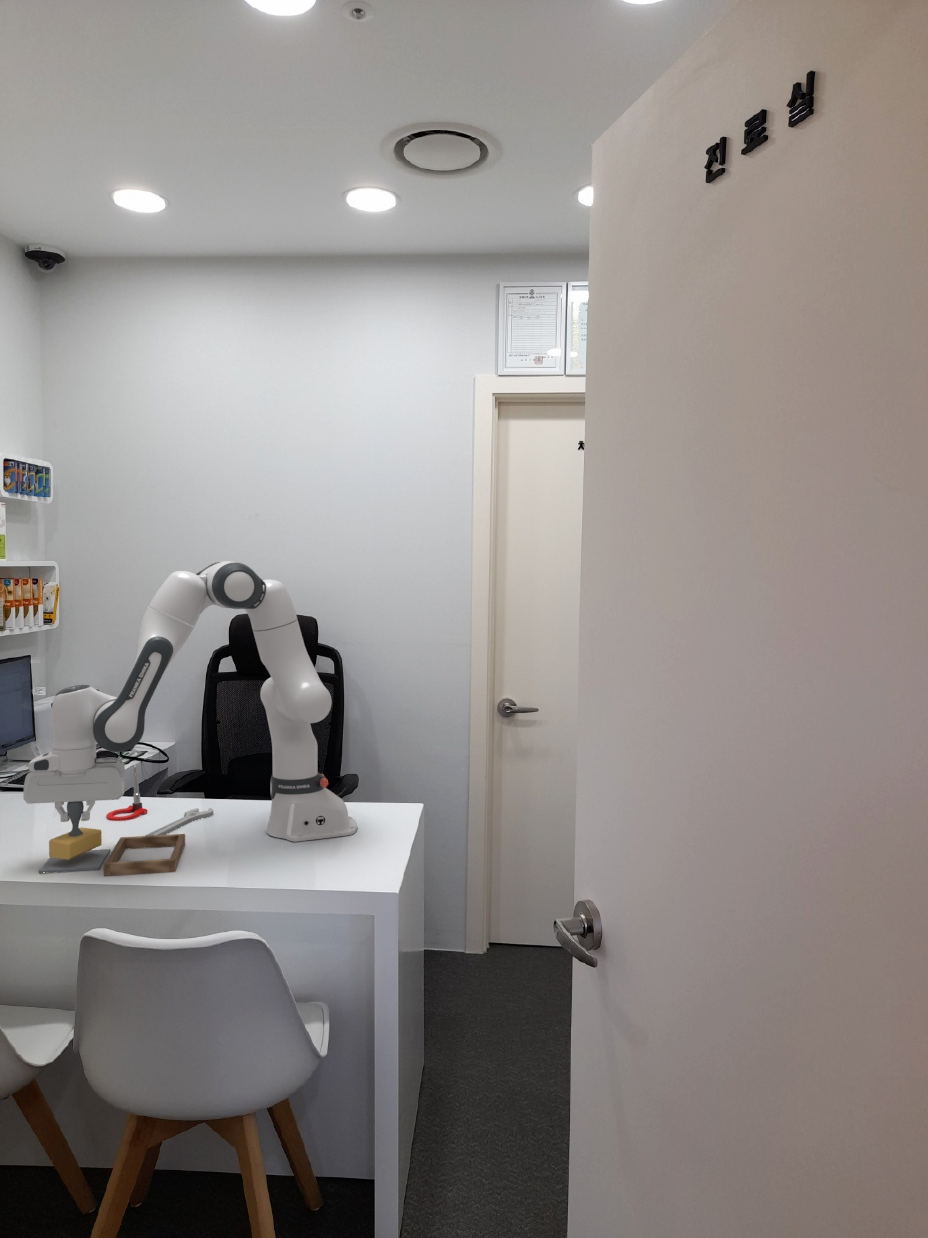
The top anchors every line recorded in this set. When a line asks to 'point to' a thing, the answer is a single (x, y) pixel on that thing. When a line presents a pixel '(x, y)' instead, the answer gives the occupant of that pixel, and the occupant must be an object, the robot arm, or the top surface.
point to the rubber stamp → (74, 836)
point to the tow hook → (135, 808)
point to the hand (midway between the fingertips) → (75, 820)
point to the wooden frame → (144, 866)
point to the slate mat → (77, 862)
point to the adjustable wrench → (182, 821)
